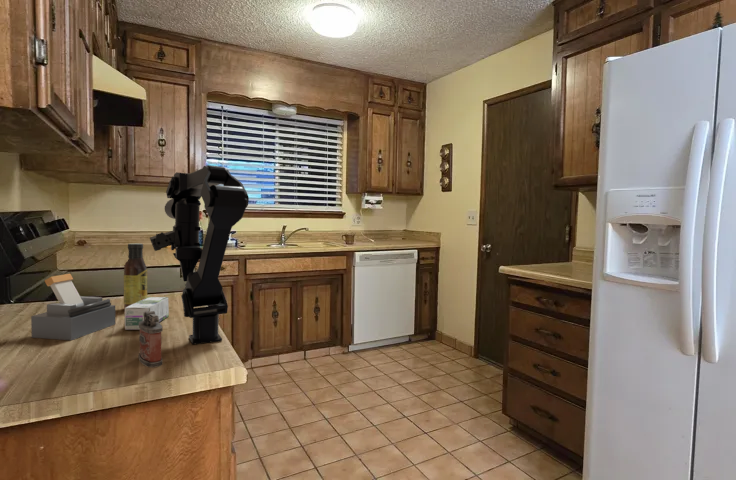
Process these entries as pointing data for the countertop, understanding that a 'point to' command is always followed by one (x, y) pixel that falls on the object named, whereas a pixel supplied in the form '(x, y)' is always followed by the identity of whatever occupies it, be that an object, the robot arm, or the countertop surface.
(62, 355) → the countertop surface
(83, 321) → the block
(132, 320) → the syrup box
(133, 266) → the sauce bottle
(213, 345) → the countertop surface
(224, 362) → the countertop surface
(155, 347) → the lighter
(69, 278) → the lever
